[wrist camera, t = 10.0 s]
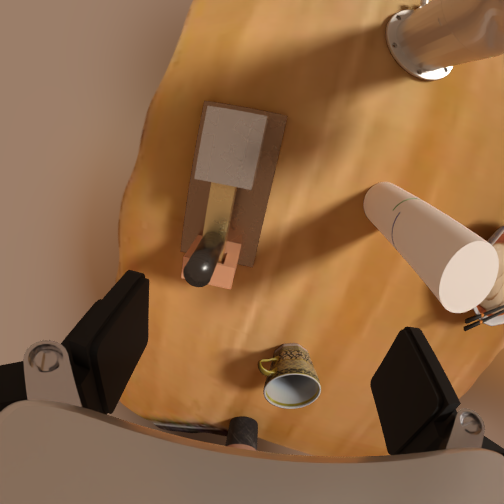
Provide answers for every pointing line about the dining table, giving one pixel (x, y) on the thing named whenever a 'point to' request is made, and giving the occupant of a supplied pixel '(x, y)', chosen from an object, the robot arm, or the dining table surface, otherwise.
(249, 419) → the travel mug
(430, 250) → the cylindrical container
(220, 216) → the sliding bolt with handle
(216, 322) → the dining table surface
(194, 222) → the brown wooden base board
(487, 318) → the ramen bowl
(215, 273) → the socket
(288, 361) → the ceramic cup
